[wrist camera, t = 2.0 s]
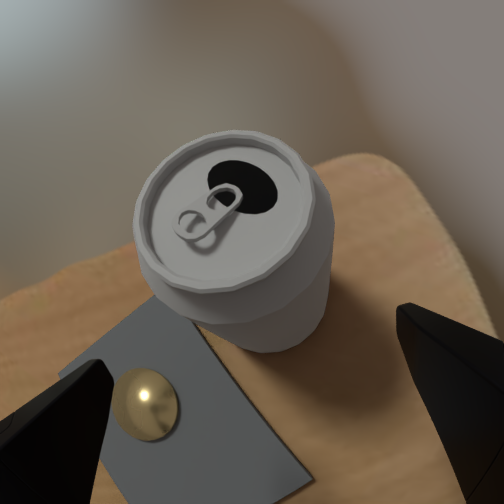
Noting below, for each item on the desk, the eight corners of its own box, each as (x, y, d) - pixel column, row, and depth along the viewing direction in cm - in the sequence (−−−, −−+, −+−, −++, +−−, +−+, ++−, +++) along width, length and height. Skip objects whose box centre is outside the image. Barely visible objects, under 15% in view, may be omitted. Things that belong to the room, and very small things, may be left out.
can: (351, 288, 20) (382, 174, 9) (273, 379, 19) (214, 370, 8) (265, 224, 23) (219, 91, 12) (192, 303, 22) (82, 219, 11)
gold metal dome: (193, 417, 18) (191, 417, 18) (138, 451, 18) (135, 452, 17) (153, 354, 20) (150, 353, 20) (103, 391, 20) (100, 390, 19)
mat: (312, 476, 16) (312, 479, 15) (169, 548, 15) (166, 551, 14) (170, 287, 22) (167, 284, 22) (62, 374, 21) (58, 373, 21)
